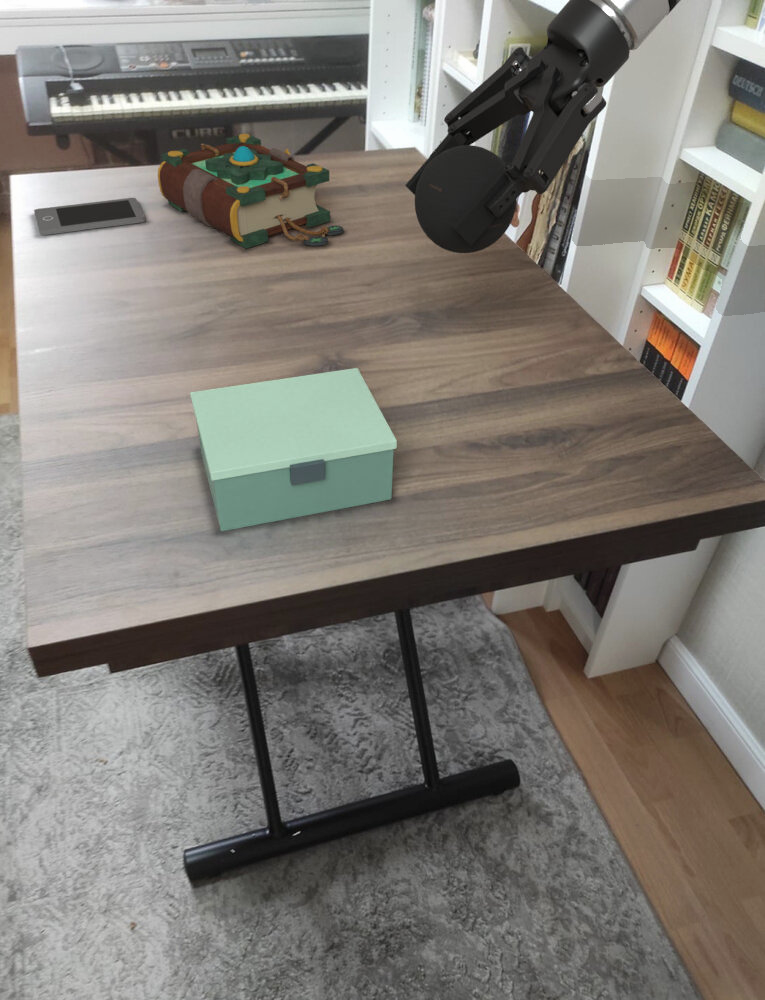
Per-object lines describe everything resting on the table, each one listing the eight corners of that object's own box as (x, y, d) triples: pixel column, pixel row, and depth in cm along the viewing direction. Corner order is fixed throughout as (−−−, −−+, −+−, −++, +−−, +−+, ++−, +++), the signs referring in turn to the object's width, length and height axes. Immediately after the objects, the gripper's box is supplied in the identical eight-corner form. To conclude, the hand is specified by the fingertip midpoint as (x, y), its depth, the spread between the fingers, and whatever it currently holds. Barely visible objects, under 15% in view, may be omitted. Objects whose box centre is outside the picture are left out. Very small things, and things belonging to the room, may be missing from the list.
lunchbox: (355, 422, 87) (356, 365, 83) (395, 503, 78) (398, 443, 73) (197, 448, 83) (189, 389, 79) (219, 537, 74) (211, 476, 69)
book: (375, 228, 124) (377, 160, 118) (260, 268, 113) (255, 195, 107) (269, 176, 139) (265, 113, 132) (157, 207, 128) (147, 140, 121)
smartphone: (136, 201, 129) (135, 196, 129) (146, 221, 123) (145, 217, 123) (34, 213, 125) (33, 208, 124) (40, 235, 119) (39, 230, 118)
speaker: (404, 264, 82) (409, 160, 76) (420, 224, 90) (426, 127, 83) (505, 275, 81) (519, 171, 74) (513, 234, 88) (526, 136, 82)
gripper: (698, 86, 71) (513, 285, 77) (559, 27, 87) (413, 196, 92) (662, 19, 66) (467, 237, 72) (521, -30, 82) (369, 152, 87)
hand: (436, 214), depth 82 cm, fingers closed on speaker, 10 cm apart
